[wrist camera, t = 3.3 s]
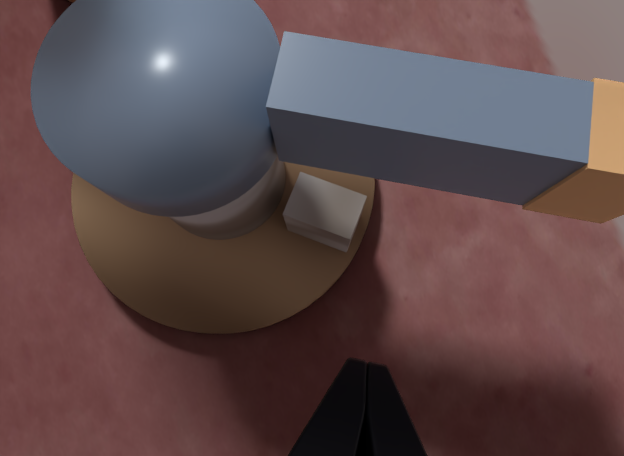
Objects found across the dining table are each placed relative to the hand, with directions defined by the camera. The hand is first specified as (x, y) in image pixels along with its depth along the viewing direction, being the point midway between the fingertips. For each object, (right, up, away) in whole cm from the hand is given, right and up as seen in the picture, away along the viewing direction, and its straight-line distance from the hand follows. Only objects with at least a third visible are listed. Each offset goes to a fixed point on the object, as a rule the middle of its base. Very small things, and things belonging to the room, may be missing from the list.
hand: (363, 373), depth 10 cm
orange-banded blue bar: (-1, +6, +3) cm, 6 cm away
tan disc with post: (-5, +5, +9) cm, 11 cm away
